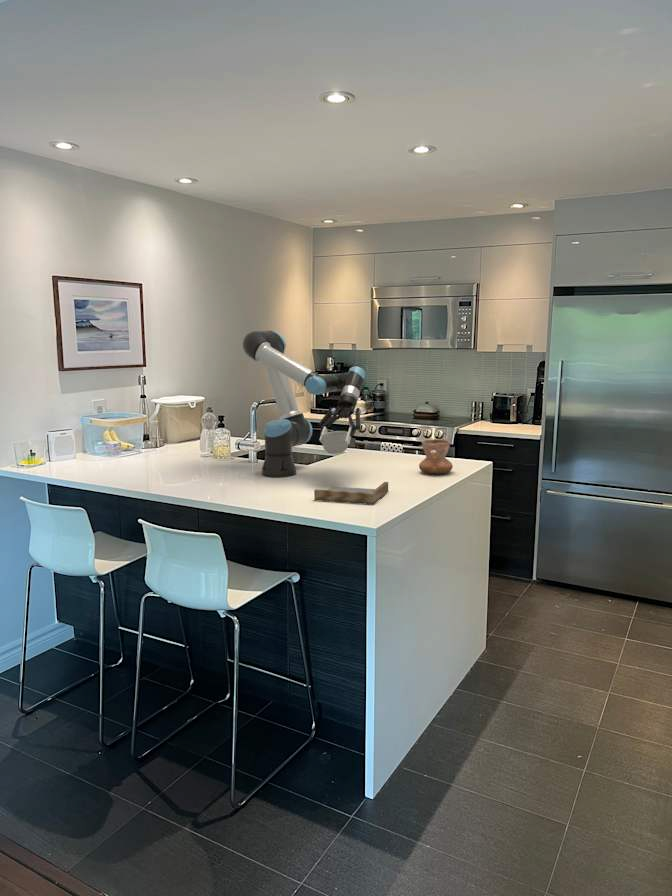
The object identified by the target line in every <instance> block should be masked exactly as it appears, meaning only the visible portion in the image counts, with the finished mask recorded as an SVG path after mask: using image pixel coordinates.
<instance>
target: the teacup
mask: <svg viewBox="0 0 672 896" xmlns="http://www.w3.org/2000/svg"><path fill="white" fill-rule="evenodd" d="M347 434H348V431H346V430H335V431H334V430H333V431H328V432H327V433H323V434H322V435H321V434H320V436H322V443H321V444H322V448H323V450H324V451H325V452H327V454H333V455H334V454H342V453H344V452H346V450H347V449H348V447H349V445H347V443H346V441H345V440H346V437H347Z"/></svg>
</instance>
